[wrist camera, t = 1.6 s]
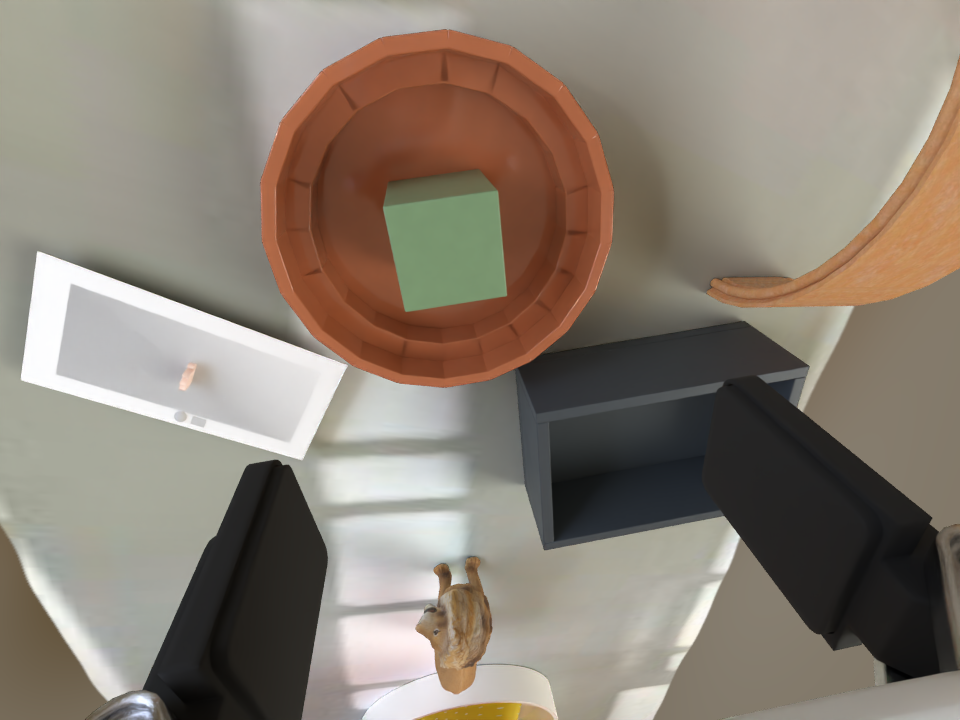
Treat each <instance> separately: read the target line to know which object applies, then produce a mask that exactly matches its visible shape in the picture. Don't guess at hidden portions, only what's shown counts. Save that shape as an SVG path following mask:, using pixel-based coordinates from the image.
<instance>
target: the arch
mask: <svg viewBox="0 0 960 720" xmlns="http://www.w3.org/2000/svg"><path fill="white" fill-rule="evenodd" d="M959 268H960V56H959V60H958V63H957V67H956V70H955V73H954V77H953V80H952V84H951V87H950V90H949V92H948V94H947V97H946V99H945V101H944V104H943V106H942V108H941V110H940V113H939V115H938V117H937V120H936V122H935V124H934V126H933V129H932V131H931V133H930V135H929V138H928V140H927V141H926V143H925V145H924V146H923V148H922V150H921V151H920V153H919V155H918V156H917V158H916V160H915V161H914V163H913V165H912V167H911V168H910V170H909V172H908V173H907V175H906V177H905V178H904V180H903V182H902V183H901V185H900V186H899V187H898V188H897V190H896V191H895V192H894V194H893V195H892V196H891V197H890V199H889V200H888V201H887V203H886V204H885V205H884V206H883V208H882V209H881V210H880V212H879V213H878V214H877V215H876V217H875V218H874V219H873V220H872V221H871V222H870V223H869V224H868V225H867V226H866V227H865V228H864V229H863V230H862V231H861V232H860V233H859V234H858V235H857V236H856V237H855V238H854V239H853V240H852V241H851V242H850V243H849V244H848V245H847V246H846V247H845V248H844V249H843V250H841V251H840V252H839V253H837V254H836V255H834V256H833V257H832V258H830V259H829V260H828V261H826V262H825V263H824V264H822V265H821V266H820V267H818V268H817V269H815V270H813V271H811V272H809V273H807V274H805V275H803V276H801V277H799V278H797V279H795V280H793V279H791V278H786V279H785V278H782V277H729V278H723V279H722V280H719V279H717V278H715V279H713V280H712V281H711V283H710V285H711V286H712V287H713V288H711V289H709V290H707V294H708V295H710V296H712V297H713V298H715V299H717V300H719V301H720V302H722V303H725V304H730V305H734V306H738V307H805V306H859V305H864V304H870V303H875V302H879V301H885V300H890V299H893V298H896V297H898V296H901V295H904V294H907V293H909V292H912V291H915V290H917V289H920V288H923V287H926V286H928V285H930V284H931V283H933V282H935V281H937V280H939V279H941V278H942V277H944V276H946V275H948V274H950V273H951V272H953V271H955V270H957V269H959Z"/></svg>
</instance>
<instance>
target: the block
mask: <svg viewBox="0 0 960 720" xmlns="http://www.w3.org/2000/svg"><path fill="white" fill-rule="evenodd" d="M383 211H384V216H385V220H386V225H387V230H388V234H389V239H390V244H391V248H392V253H393V258H394V262H395V267H396V272H397V276H398V281H399V286H400V290H401V295H402V300H403V304H404V309H405V311H406V312H410V311H417V310H423V309H429V308H436V307H442V306H448V305H455V304H461V303H467V302H474V301H480V300H486V299H493V298H499V297H505V296H507V287H506V276H505V264H504V253H503V241H502V230H501V218H500V207H499V195H498V190H497V189H496V188H495V187H494V186H493V185H492V183H491V182H490V181H489V180H488V179H487V178H486V177H485V175H484V174H483V173H482V172H481V171H480V170H479V169H475V170H468V171H460V172H453V173H446V174H439V175H432V176H425V177H418V178H411V179H404V180H397V181H390V182H388V185H387V190H386V195H385V200H384V206H383Z"/></svg>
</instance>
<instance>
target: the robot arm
mask: <svg viewBox="0 0 960 720" xmlns="http://www.w3.org/2000/svg"><path fill="white" fill-rule="evenodd" d="M702 482H703V486H704V488H705V490H706V491H707V493H708V494H709V496H710V497H711V498H712V500H713V501H714V502H715V504H716V505H717V506H718V508H719V509H720V510H721V512H722V513H723V514H724V516H725V517H726V518H727V520H728V521H729V522H730V524H731V525H732V526H733V528H734V529H735V530H736V532H737V533H738V534H739V536H740V537H741V538H742V540H743V541H744V542H745V544H746V545H747V546H748V548H749V549H750V550H751V552H752V553H753V554H754V556H755V557H756V558H757V560H758V561H759V562H760V564H761V565H762V566H763V568H764V569H765V570H766V572H767V573H768V574H769V576H770V577H771V578H772V580H773V581H774V582H775V584H776V585H777V586H778V588H779V589H780V590H781V592H782V593H783V594H784V596H785V597H786V599H787V600H788V601H789V603H790V604H791V605H792V607H793V608H794V609H795V611H796V612H797V613H798V614H799V616H800V617H801V619H802V620H803V621H804V623H805V624H806V625H807V626H808V627H809V629H811V630H812V631H813V632H814V633H816V634H821V635H822V636H823V638H824V639H825V640H826V641H827V643H828V644H829V645H830V647H831V648H832V649H833V651H835V650H840V649H844V648H849V647H854V646H858V645H861V644H862V643H863V644H864V645H865V647H866V648H867V649H868V650H869V651H870V653H871V654H872V655H873V656H874V671H875V686H873V687H868V688H863V689H858V690H853V691H849V692H844V693H839V694H835V695H830V696H825V697H821V698H816V699H812V700H807V701H802V702H798V703H793V704H788V705H784V706H779V707H775V708H770V709H765V710H761V711H756V712H751V713H747V714H742V715H738V716H733V717H729V718H724V719H719V720H960V524H954V525H951V526H948V527H945V528H943V529H942V530H941V531H940V532H938V531H937V530H936V529H935V528H934V527H932V526H931V525H930V524H929V523H930V521H931V519H932V517H931V516H930V515H928V514H927V513H926V512H925V511H924V510H922V509H921V508H920V507H919V506H917V505H916V504H915V503H914V502H912V501H911V500H909V498H907V497H906V496H905V495H904V494H902V493H901V492H900V491H899V490H898V489H896V488H895V487H894V486H892V485H891V484H890V483H889V482H888V481H887V480H885V479H884V478H883V477H881V476H880V475H879V474H878V473H877V472H875V471H874V470H873V469H872V468H870V467H869V466H868V465H867V464H866V463H864V462H863V461H862V460H861V459H859V458H858V457H857V456H856V455H854V454H853V453H852V452H851V451H850V450H848V449H847V448H846V447H845V446H843V445H842V444H841V443H840V442H838V441H837V440H836V439H835V438H833V437H832V436H831V435H830V434H829V433H827V432H826V431H825V430H824V429H822V428H821V427H820V426H819V425H817V424H816V423H815V422H814V421H813V420H811V419H810V418H809V417H808V416H806V415H805V414H804V413H803V412H801V411H800V410H799V409H798V408H797V407H795V406H794V405H793V404H792V403H790V402H789V401H788V400H787V399H785V398H784V397H783V396H782V395H780V394H779V393H778V392H777V391H776V390H774V389H773V388H772V387H771V386H769V385H768V384H767V383H766V382H764V381H763V380H762V379H761V378H759V377H758V376H756V375H749V376H743V377H738V378H732V379H728V380H726V381H725V382H724V383H723V386H722V387H720V388H719V389H718V390H717V393H716V397H715V403H714V409H713V414H712V420H711V426H710V431H709V437H708V443H707V448H706V454H705V459H704V465H703V471H702ZM327 563H328V556H327V549H326V546H325V544H324V541H323V539H322V537H321V534H320V532H319V530H318V528H317V525H316V523H315V521H314V518H313V516H312V514H311V512H310V509H309V507H308V505H307V502H306V500H305V498H304V496H303V493H302V491H301V489H300V486H299V484H298V482H297V480H296V477H295V475H294V473H293V470H292V468H291V467H290V466H289V465H282V463H281V462H280V461H279V460H271V461H265V462H260V463H254V464H249V465H248V466H247V467H246V468H245V470H244V472H243V475H242V477H241V479H240V482H239V484H238V486H237V489H236V491H235V493H234V496H233V498H232V500H231V503H230V505H229V507H228V510H227V512H226V514H225V517H224V519H223V521H222V524H221V526H220V528H219V531H218V533H217V535H216V536H215V537H213V538H212V539H211V540H210V541H209V542H208V544H207V546H206V548H205V549H204V552H203V554H202V556H201V558H200V561H199V563H198V565H197V567H196V570H195V572H194V574H193V577H192V579H191V581H190V583H189V586H188V588H187V590H186V592H185V595H184V597H183V599H182V601H181V604H180V606H179V608H178V610H177V613H176V615H175V617H174V620H173V622H172V624H171V626H170V629H169V631H168V633H167V635H166V638H165V640H164V642H163V644H162V647H161V649H160V651H159V653H158V656H157V658H156V660H155V663H154V665H153V667H152V669H151V672H150V674H149V676H148V678H147V681H146V683H145V685H144V687H143V690H139V691H131V692H128V693H125V694H123V695H120V696H118V697H115V698H113V699H111V700H110V701H108V702H107V703H105V704H104V705H102V706H101V707H99V708H98V709H96V710H95V711H94V712H93V713H92V714H90V715H89V716H88V717H87V718H86V719H85V720H301V718H302V712H303V707H304V701H305V695H306V689H307V683H308V677H309V671H310V665H311V659H312V653H313V647H314V641H315V635H316V629H317V623H318V617H319V611H320V605H321V599H322V594H323V588H324V582H325V576H326V570H327Z"/></svg>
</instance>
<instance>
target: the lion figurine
mask: <svg viewBox="0 0 960 720" xmlns="http://www.w3.org/2000/svg"><path fill="white" fill-rule="evenodd" d="M479 565H480V560H479V559H478V558H477V557H469V558H467V559H466V564H465V570H466V573H467V576H468V579H469V583H466V584H456V585H452V586H451V579H452V575H451V572H450V571H449V567H448V566H447V565H446V564H439V565H437V566H436V567H435V568H434V573H435V574H436V575H438V577H439V583H440V590H439V596H438V604H437V607H435V606H433V605H431V604H427V605H426V607H425V609H424V614H423V616H422V617H421V619H420V621H419V623H418V624H417V626H416V628H415V629H416V631H417V632H419V633H420V634H422V635H424V636H425V637H426V638H427V639H429V640H430V642H431V646H432V647H433V648H434V649H435V666H436V670H437V674H438V677H439V680H440V684H441V686H442V687H443V688H444V689H445V690H446V691H449V692H452V693H453V694H459V693H461V692H462V691H464V690H466V689H467V688H469V687H470V686H471V685H472V684H473V682H474V679H475V675H476V663H477V661H479V660H480V659H481V657H482V656H483V655H484V653H485V651H486V646H487V644H488V642H489V639H490V634H491V633H492V626H491V625H492V618H491V613H490V609H489V603H488V600H487V597H486V596H485V595H484V592H483V588H482V585H481V582H480V579H479V576H478V573H477V568H478V566H479Z"/></svg>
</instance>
